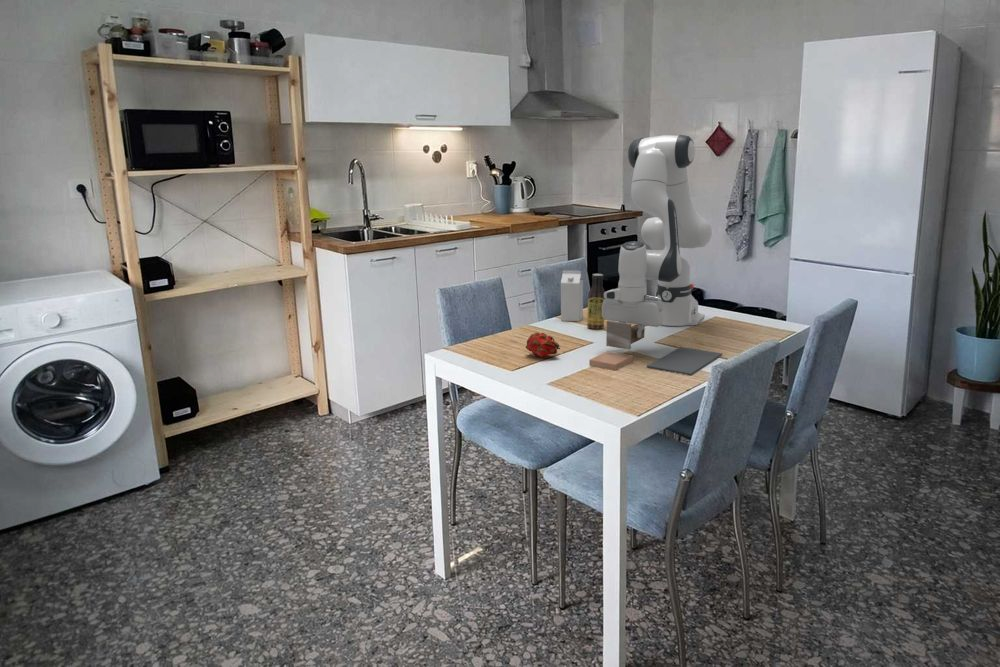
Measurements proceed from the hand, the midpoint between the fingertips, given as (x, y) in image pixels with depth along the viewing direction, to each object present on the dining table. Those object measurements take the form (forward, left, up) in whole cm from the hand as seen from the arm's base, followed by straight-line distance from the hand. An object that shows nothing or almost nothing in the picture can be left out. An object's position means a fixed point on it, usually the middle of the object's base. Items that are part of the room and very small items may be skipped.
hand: (631, 336), depth 225 cm
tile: (+7, 0, -5) cm, 9 cm away
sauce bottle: (-22, -26, -6) cm, 35 cm away
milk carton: (-28, -40, -6) cm, 50 cm away
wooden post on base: (+2, 0, -2) cm, 2 cm away
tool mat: (-1, +18, -6) cm, 19 cm away
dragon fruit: (+18, -22, -6) cm, 29 cm away
